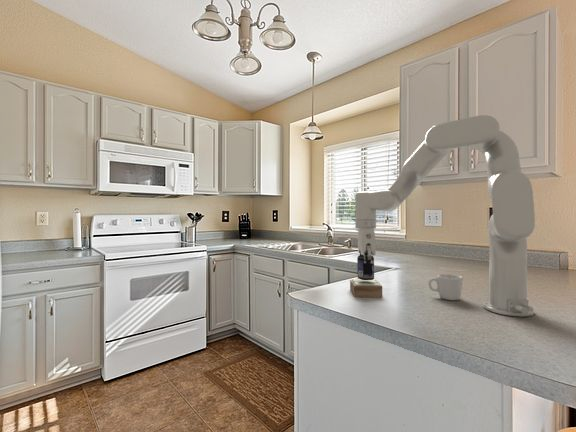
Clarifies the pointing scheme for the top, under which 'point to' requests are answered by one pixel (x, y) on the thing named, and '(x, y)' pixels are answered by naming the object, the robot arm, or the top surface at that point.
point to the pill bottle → (360, 268)
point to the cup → (448, 286)
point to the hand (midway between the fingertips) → (365, 271)
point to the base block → (365, 288)
